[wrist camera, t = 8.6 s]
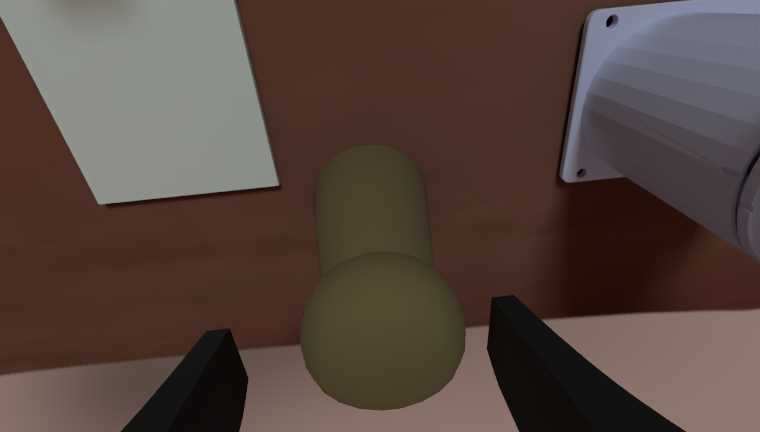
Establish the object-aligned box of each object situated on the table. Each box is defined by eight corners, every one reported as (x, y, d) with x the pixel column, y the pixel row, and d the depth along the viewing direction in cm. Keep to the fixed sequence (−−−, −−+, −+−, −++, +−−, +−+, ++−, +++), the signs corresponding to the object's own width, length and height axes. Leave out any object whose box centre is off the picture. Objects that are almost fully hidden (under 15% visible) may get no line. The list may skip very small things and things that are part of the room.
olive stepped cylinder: (354, 262, 22) (357, 461, 13) (289, 184, 19) (229, 362, 10) (445, 212, 21) (525, 392, 11) (389, 121, 18) (432, 256, 8)
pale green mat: (230, -26, 15) (227, -27, 14) (280, 182, 19) (278, 185, 19) (-2, -4, 15) (-11, -4, 14) (103, 200, 19) (98, 204, 19)
